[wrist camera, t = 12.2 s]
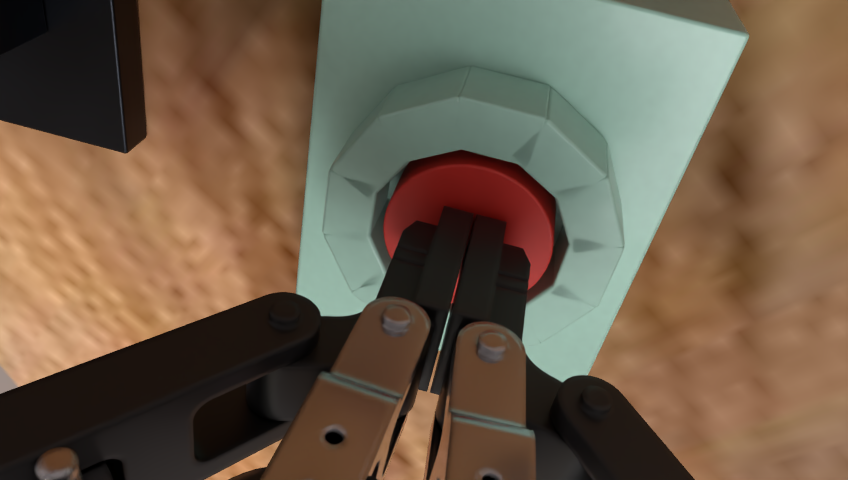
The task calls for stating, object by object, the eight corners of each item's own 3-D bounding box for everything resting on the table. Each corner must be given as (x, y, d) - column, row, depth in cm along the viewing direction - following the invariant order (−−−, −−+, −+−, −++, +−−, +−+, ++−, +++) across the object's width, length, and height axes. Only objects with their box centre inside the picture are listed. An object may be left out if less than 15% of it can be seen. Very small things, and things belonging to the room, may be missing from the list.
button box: (361, -91, 16) (297, -51, 13) (729, -3, 16) (770, 66, 12) (321, 259, 23) (271, 352, 19) (582, 330, 22) (581, 438, 19)
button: (411, 115, 16) (396, 144, 15) (577, 157, 16) (576, 191, 15) (386, 248, 18) (371, 282, 17) (530, 286, 18) (526, 324, 17)
